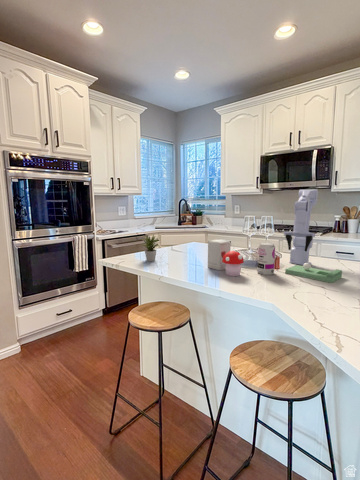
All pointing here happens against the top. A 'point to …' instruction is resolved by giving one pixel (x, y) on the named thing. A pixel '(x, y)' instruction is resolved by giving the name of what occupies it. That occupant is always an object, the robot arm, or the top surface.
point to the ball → (306, 266)
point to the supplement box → (217, 253)
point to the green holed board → (315, 273)
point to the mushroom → (233, 263)
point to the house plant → (150, 248)
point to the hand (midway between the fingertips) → (297, 250)
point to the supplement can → (266, 258)
